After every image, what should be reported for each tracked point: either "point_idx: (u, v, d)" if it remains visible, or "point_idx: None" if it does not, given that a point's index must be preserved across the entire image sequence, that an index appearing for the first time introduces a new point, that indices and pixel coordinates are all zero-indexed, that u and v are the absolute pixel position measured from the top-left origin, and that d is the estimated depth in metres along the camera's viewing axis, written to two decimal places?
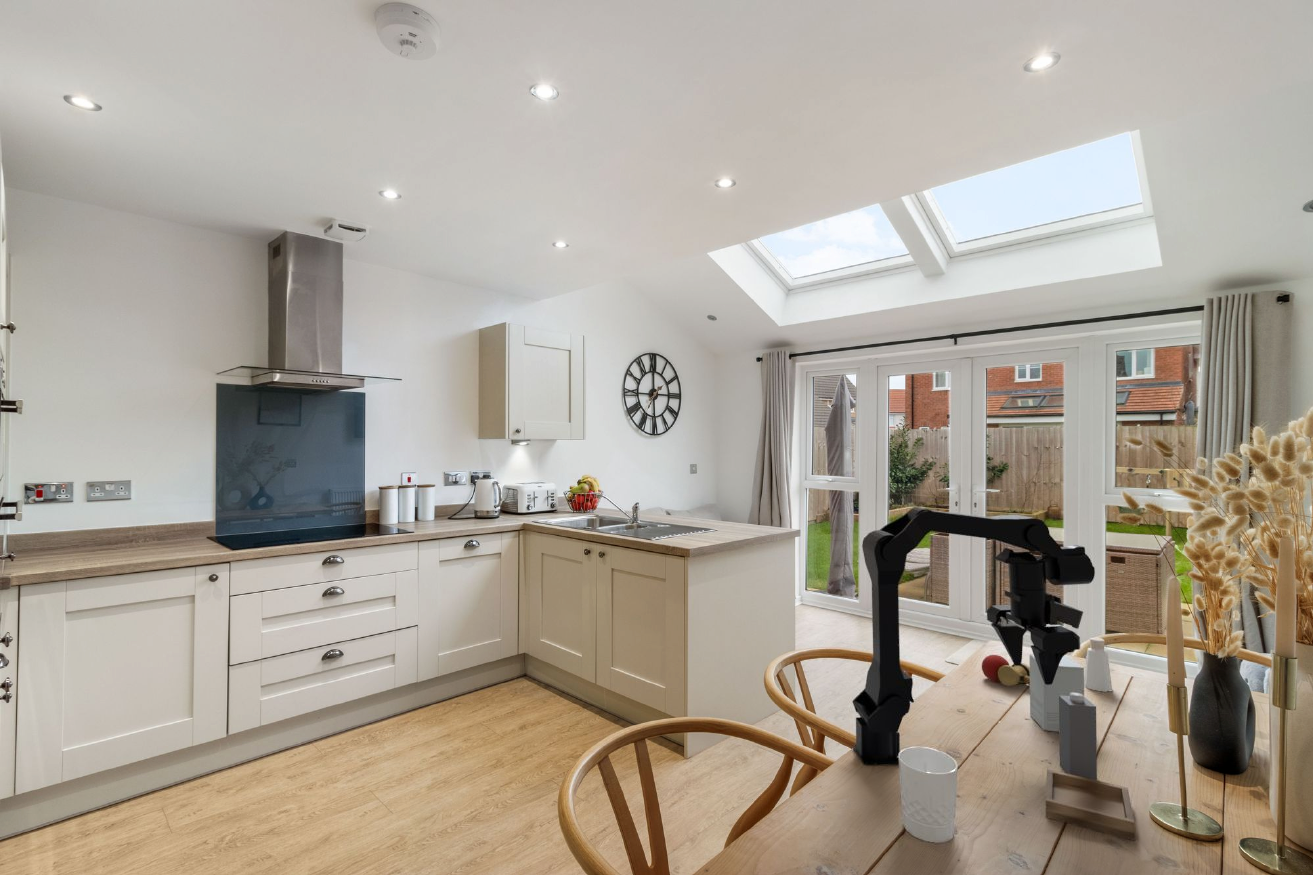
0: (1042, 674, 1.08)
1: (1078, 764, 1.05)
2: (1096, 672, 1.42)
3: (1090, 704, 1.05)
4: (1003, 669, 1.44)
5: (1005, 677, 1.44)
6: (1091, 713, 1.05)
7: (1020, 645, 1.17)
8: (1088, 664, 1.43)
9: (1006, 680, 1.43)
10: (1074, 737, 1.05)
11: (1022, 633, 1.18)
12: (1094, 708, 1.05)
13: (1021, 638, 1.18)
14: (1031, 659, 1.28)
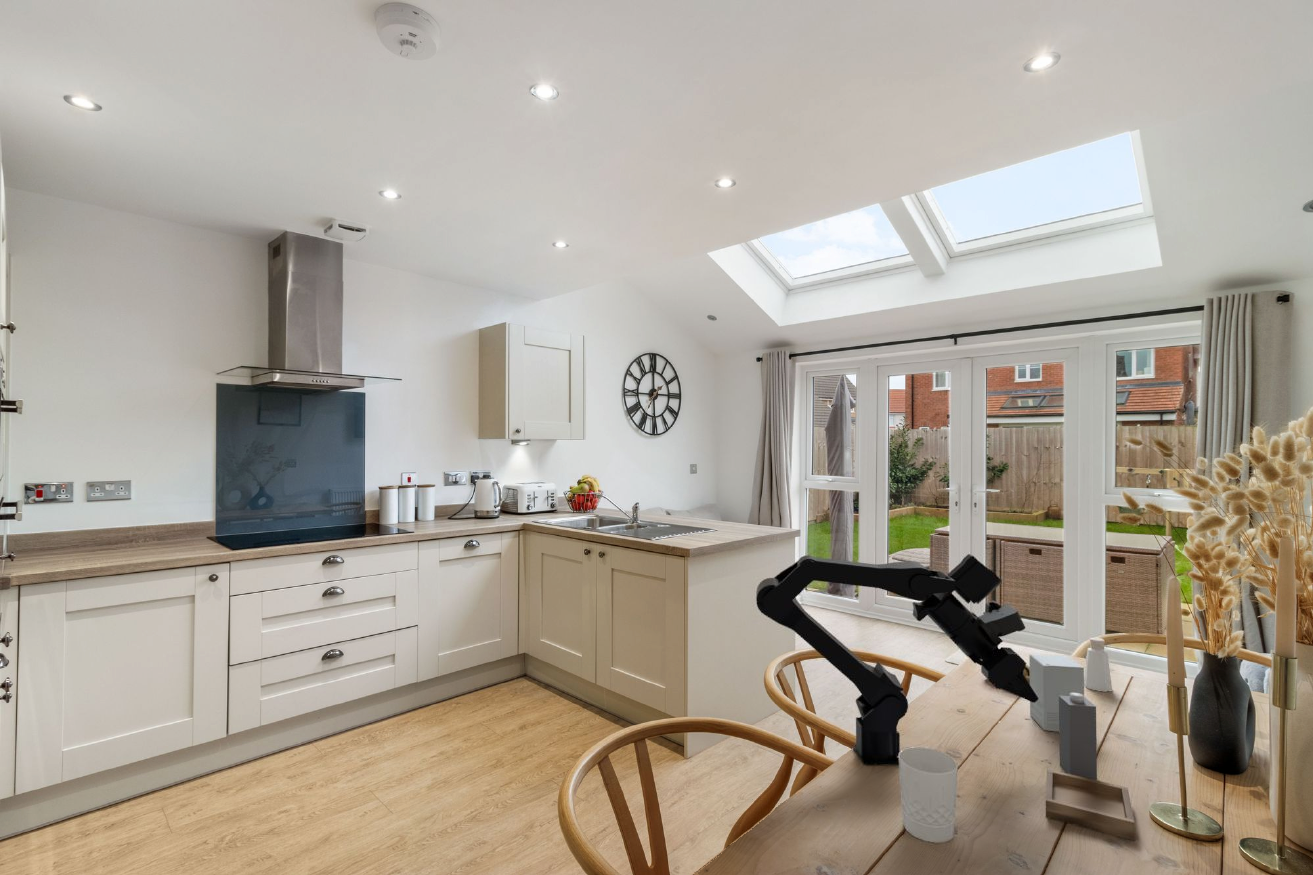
0: (1022, 697, 1.04)
1: (1078, 764, 1.05)
2: (1096, 672, 1.42)
3: (1090, 704, 1.05)
4: None
5: None
6: (1091, 713, 1.05)
7: None
8: (1088, 664, 1.43)
9: None
10: (1074, 737, 1.05)
11: None
12: (1094, 708, 1.05)
13: None
14: (1031, 659, 1.28)
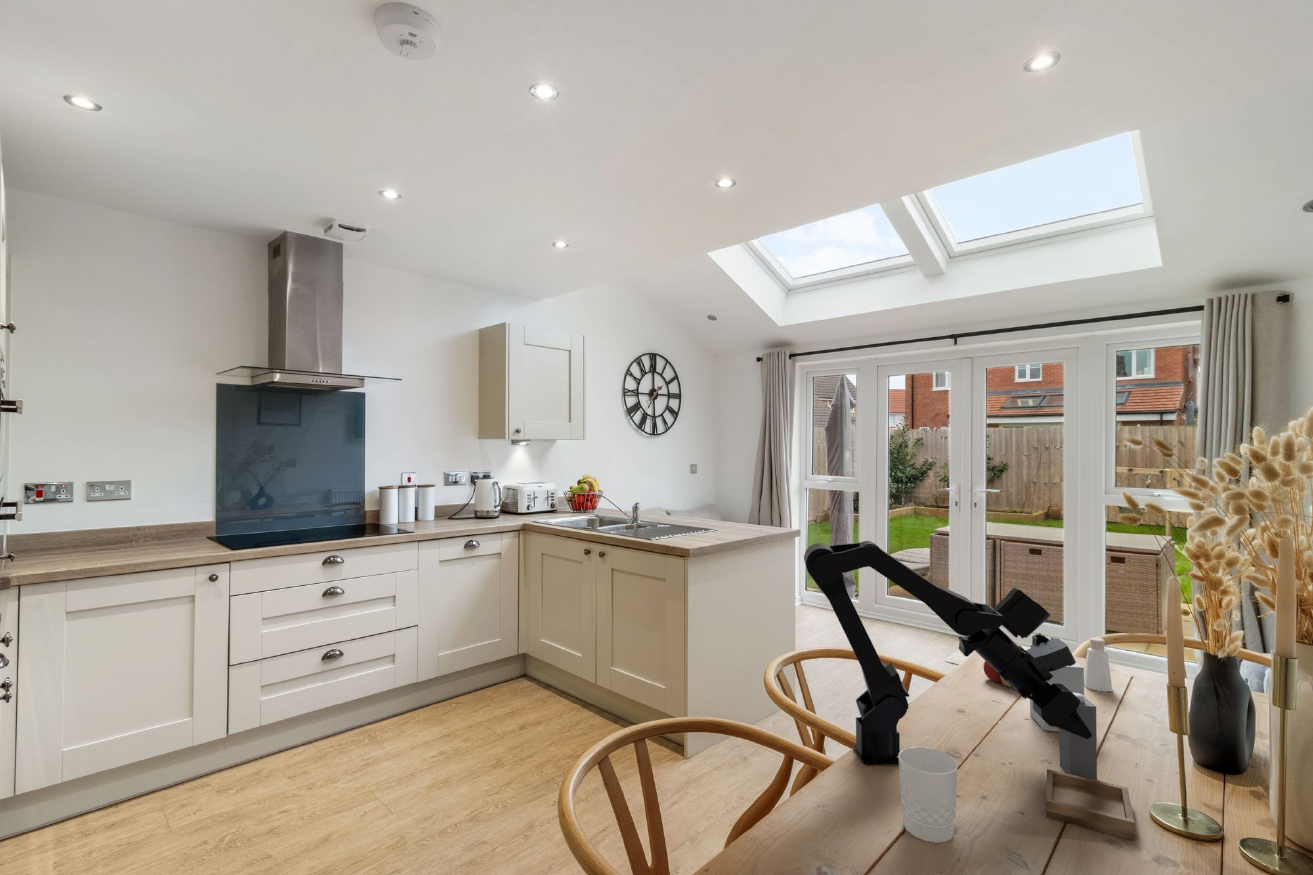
0: None
1: (1078, 764, 1.05)
2: (1096, 672, 1.42)
3: (1090, 704, 1.05)
4: None
5: None
6: (1091, 713, 1.05)
7: None
8: (1088, 664, 1.43)
9: None
10: (1074, 737, 1.05)
11: None
12: (1094, 708, 1.05)
13: None
14: None
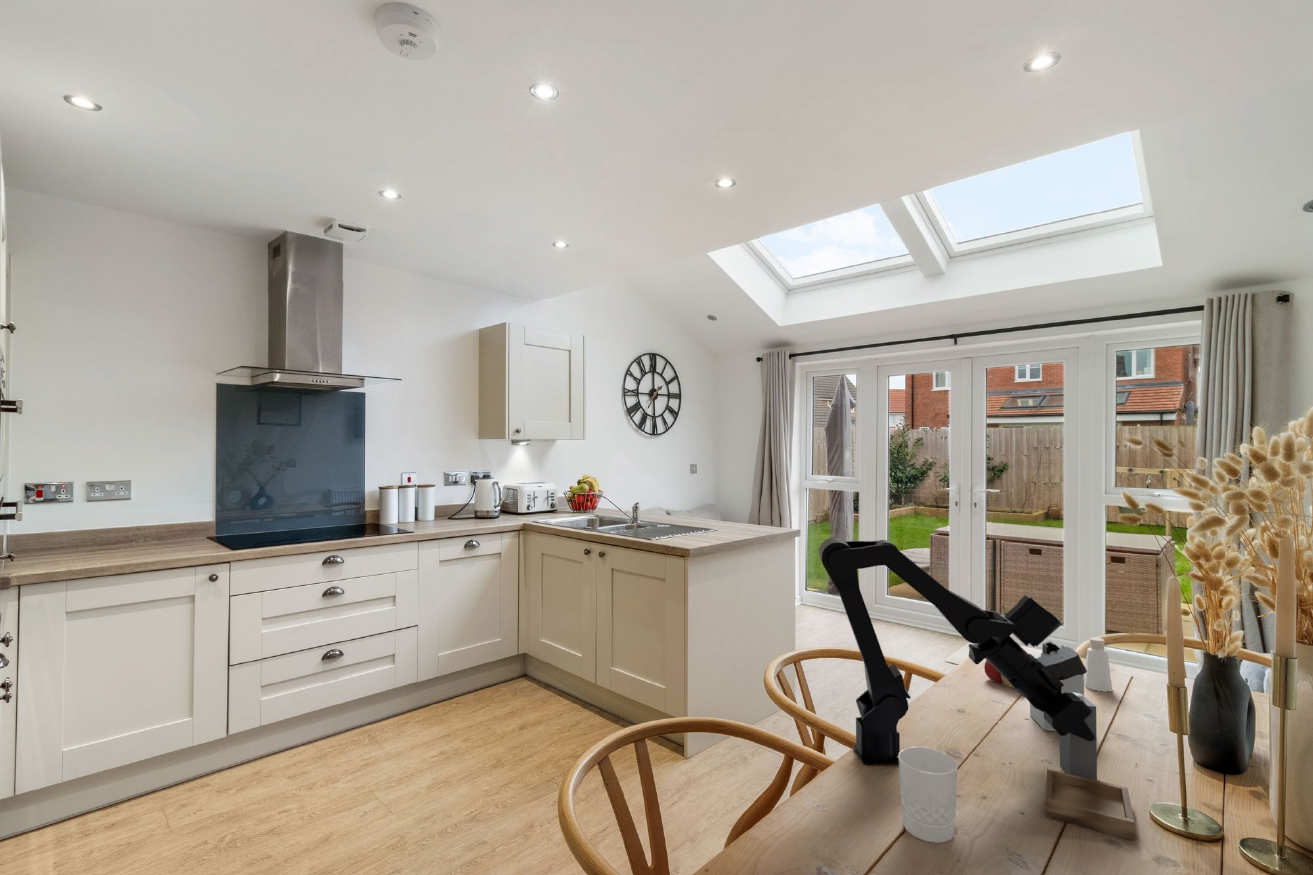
0: (1079, 736, 1.05)
1: (1078, 764, 1.05)
2: (1096, 672, 1.42)
3: (1090, 704, 1.05)
4: None
5: None
6: (1091, 713, 1.05)
7: None
8: (1088, 664, 1.43)
9: None
10: (1074, 737, 1.05)
11: None
12: (1094, 708, 1.05)
13: None
14: None
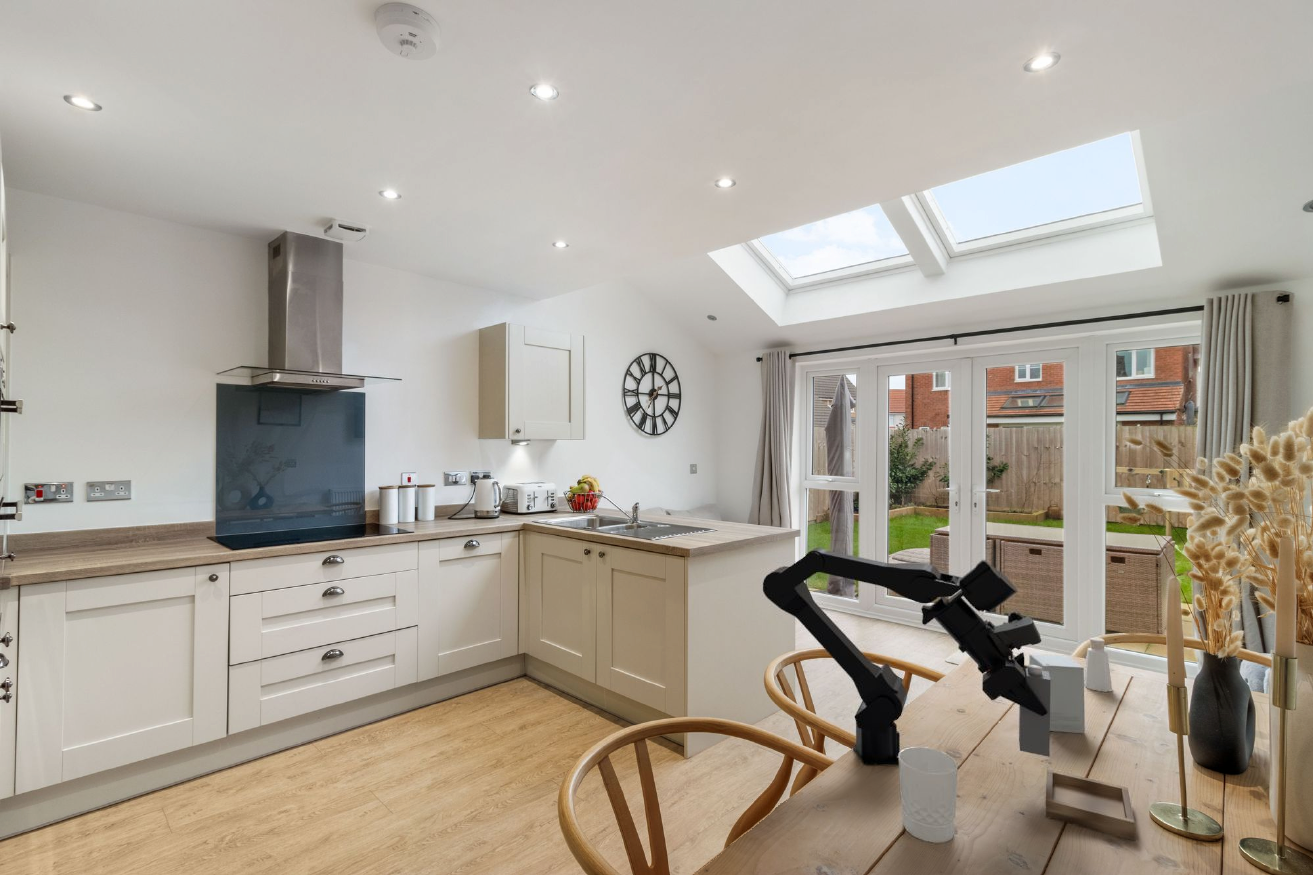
0: (1029, 709, 0.99)
1: (1029, 738, 1.00)
2: (1096, 672, 1.42)
3: (1046, 677, 0.99)
4: None
5: None
6: (1045, 686, 0.99)
7: None
8: (1088, 664, 1.43)
9: None
10: (1025, 709, 1.00)
11: None
12: (1048, 681, 0.99)
13: None
14: (1031, 659, 1.28)
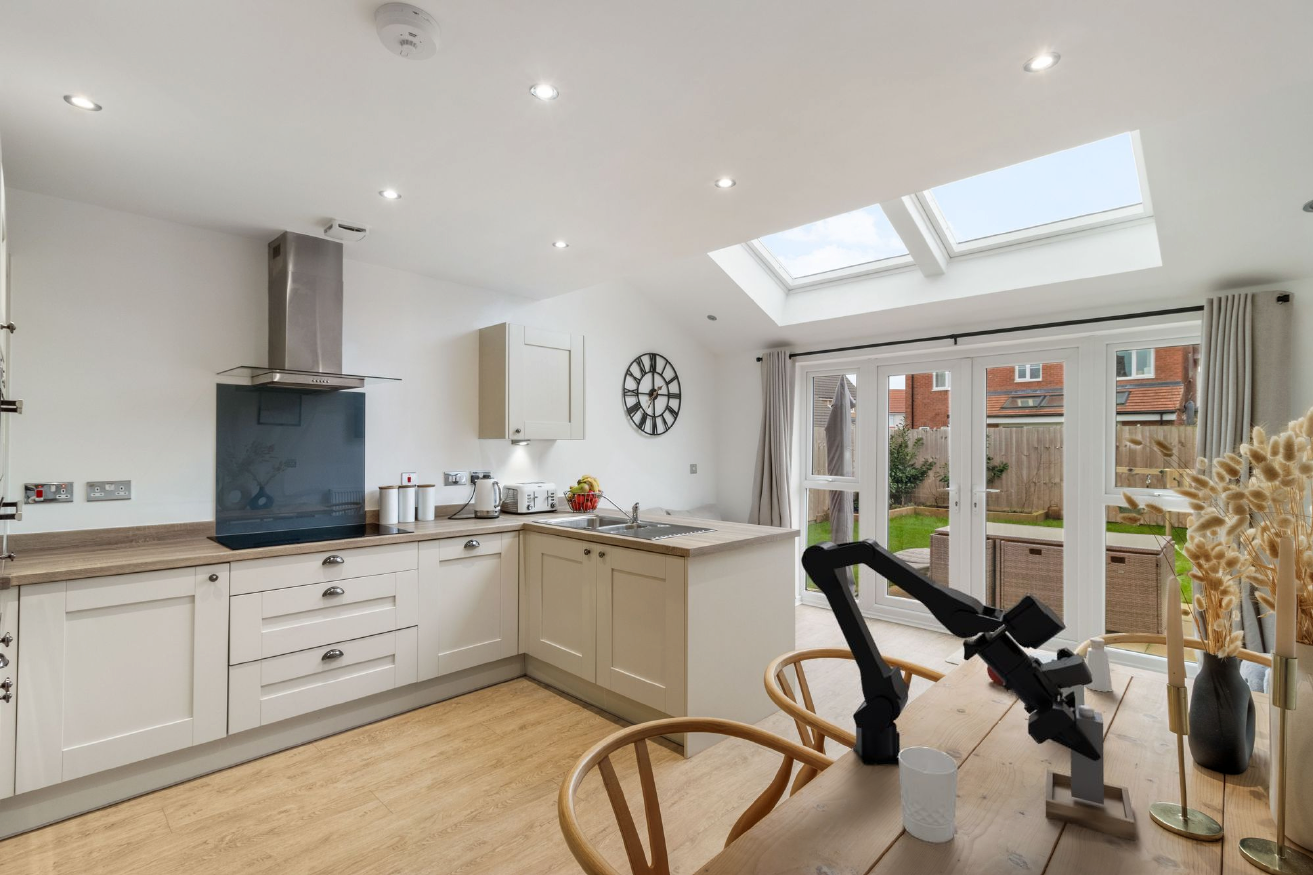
0: None
1: (1081, 784, 0.95)
2: (1096, 672, 1.42)
3: (1098, 720, 0.94)
4: None
5: None
6: (1097, 729, 0.94)
7: None
8: (1088, 664, 1.43)
9: None
10: (1077, 753, 0.95)
11: None
12: (1101, 724, 0.93)
13: None
14: None
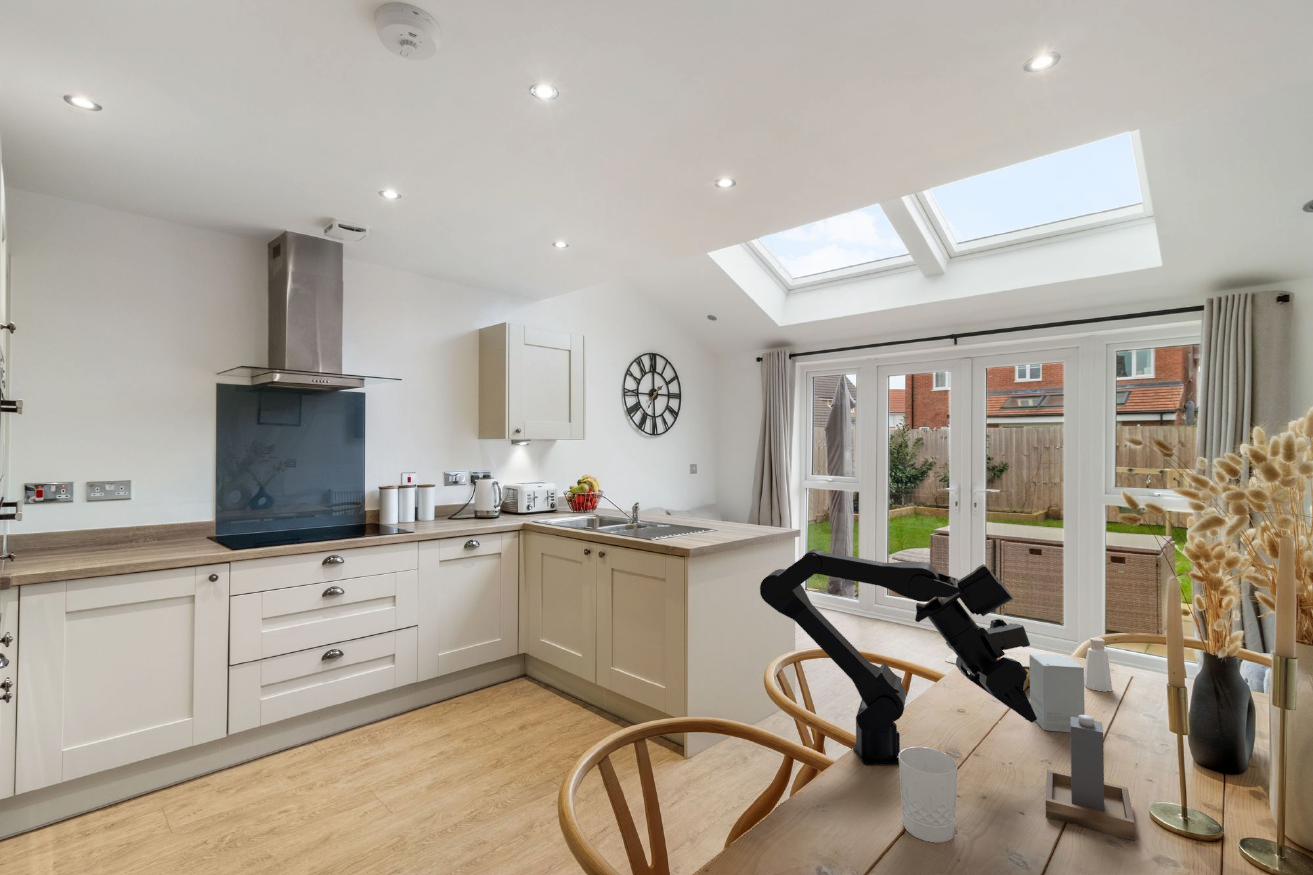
0: (1020, 714, 0.99)
1: (1081, 793, 0.95)
2: (1096, 672, 1.42)
3: (1098, 729, 0.94)
4: None
5: None
6: (1097, 739, 0.94)
7: None
8: (1088, 664, 1.43)
9: None
10: (1077, 763, 0.95)
11: None
12: (1101, 734, 0.93)
13: None
14: (1031, 659, 1.28)
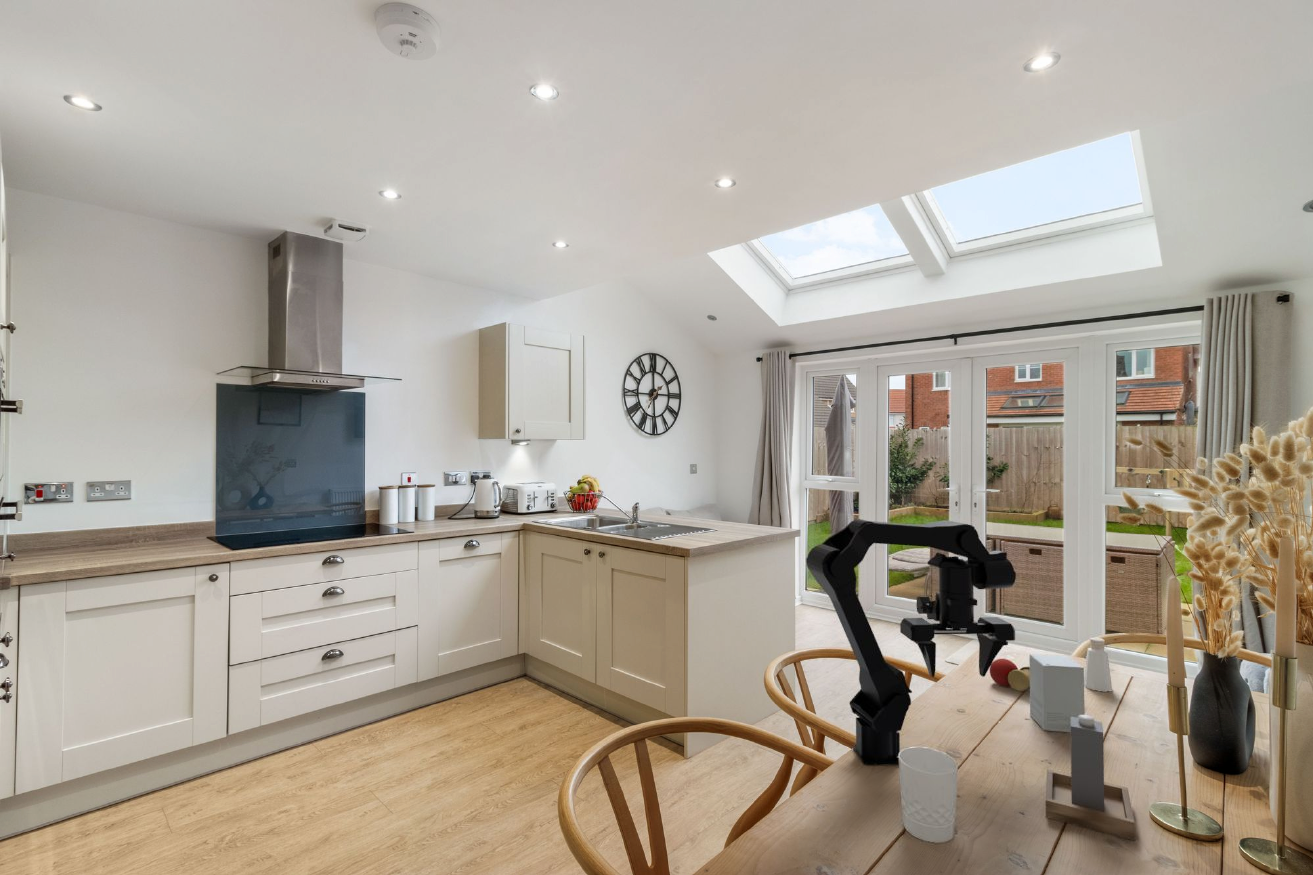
0: (988, 667, 1.15)
1: (1081, 793, 0.95)
2: (1096, 672, 1.42)
3: (1098, 729, 0.94)
4: (1013, 673, 1.41)
5: (1015, 681, 1.41)
6: (1097, 739, 0.94)
7: None
8: (1088, 664, 1.43)
9: (1016, 685, 1.40)
10: (1077, 763, 0.95)
11: None
12: (1101, 734, 0.93)
13: None
14: (1031, 659, 1.28)
